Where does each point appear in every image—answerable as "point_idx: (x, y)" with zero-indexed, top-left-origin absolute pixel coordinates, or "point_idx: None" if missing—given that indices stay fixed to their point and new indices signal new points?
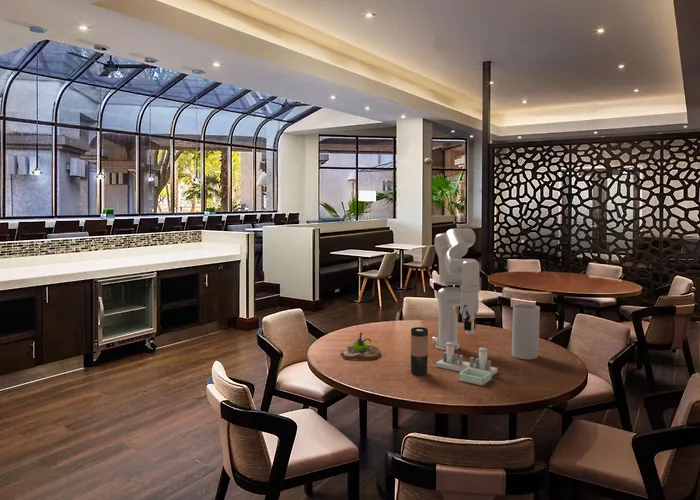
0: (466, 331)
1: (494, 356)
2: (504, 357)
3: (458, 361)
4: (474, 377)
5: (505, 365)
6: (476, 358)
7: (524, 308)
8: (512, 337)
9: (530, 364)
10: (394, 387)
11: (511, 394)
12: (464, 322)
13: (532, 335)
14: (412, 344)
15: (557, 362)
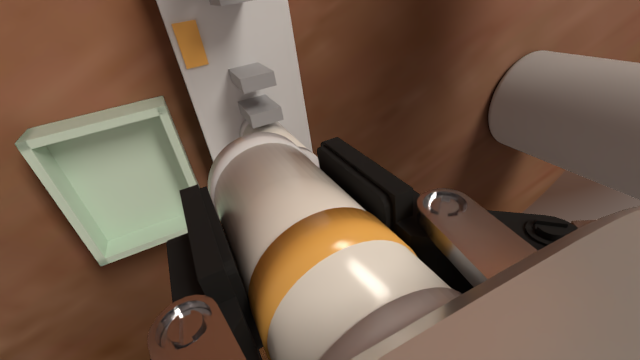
0: (213, 186)
1: (481, 12)
2: (484, 53)
3: None
4: (75, 228)
5: (400, 121)
6: (265, 112)
7: None
8: (590, 79)
9: (451, 165)
10: None
11: (134, 342)
12: (196, 267)
13: (584, 176)
14: None
15: (498, 194)
